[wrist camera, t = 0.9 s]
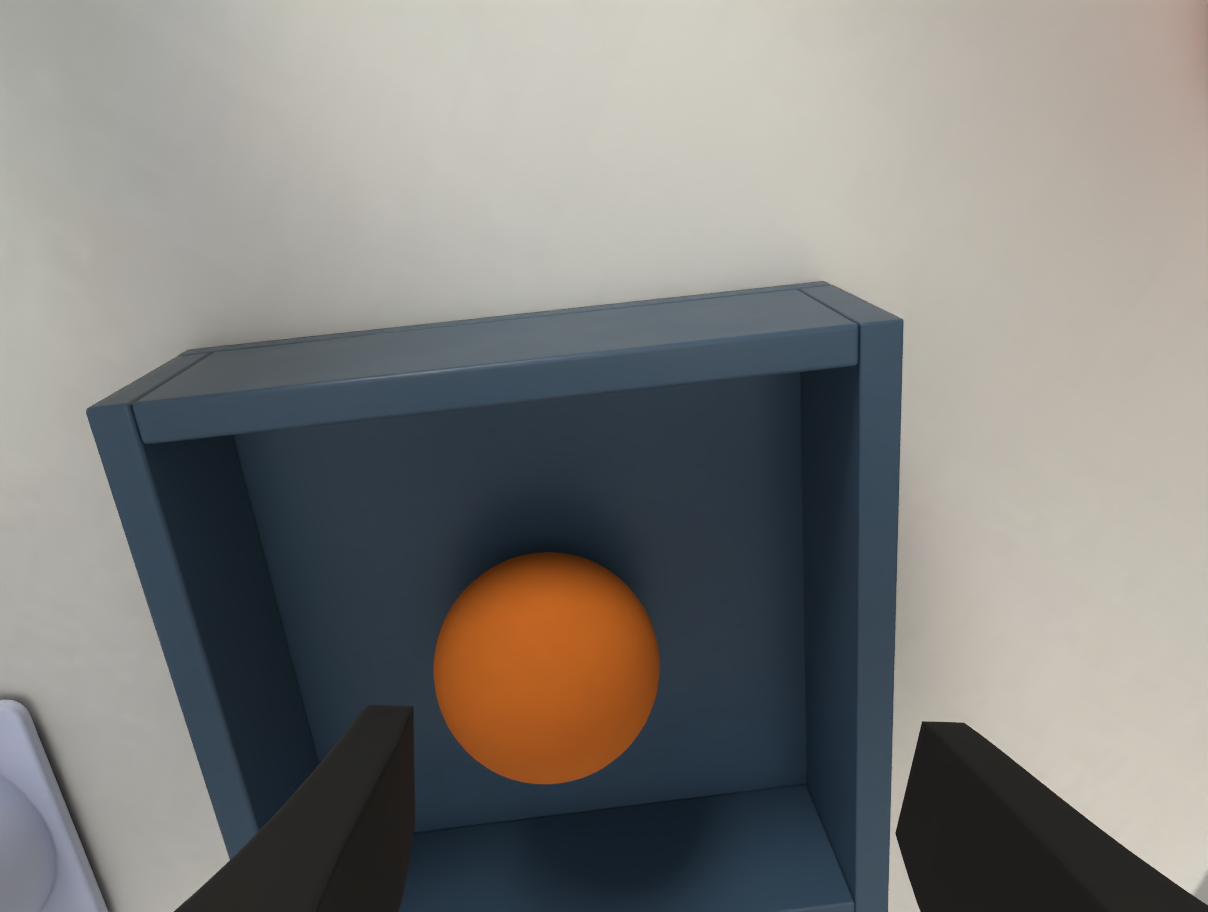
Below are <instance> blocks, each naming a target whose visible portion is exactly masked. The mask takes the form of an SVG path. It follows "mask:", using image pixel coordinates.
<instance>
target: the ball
mask: <svg viewBox="0 0 1208 912" xmlns="http://www.w3.org/2000/svg"><path fill="white" fill-rule="evenodd" d="M433 674H434V683H435V691H436V697H437V700H438V704H439V707H440V710H441V712H442V715H443V717H444V719H445V722H446V724H447V726H448V728H449V729H450V731H451V732H452V734H453V736H454V737H455V738H456V740H457V741H458V742H459V744H460V745H461V746H462V747H463V748H464V749H465V751H466V752H467V753H468V754H470V755H471V756H472V757H473V758H474V759H475V760H477V761H478V762H479V763H481V764H482V765H484V766H485V767H487V768H488V769H489V770H491V771H493V772H495V773H497V774H499V775H501V776H504V777H506V778H509V779H512V780H516V781H520V782H525V783H532V784H559V783H565V782H570V781H574V780H577V779H581V778H584V777H586V776H588V775H591V774H593V773H595V772H597V771H599V770H601V769H602V768H604V767H605V766H607V765H608V764H610V763H611V762H612V761H614V760H615V759H616V758H618V757H619V756H620V755H621V754H622V753H623V752H624V751H625V750H626V749H627V748H628V747H629V746H630V745H631V744H632V742H633V741H634V740H635V739H636V737H637V736H638V734H639V733H640V731H641V730H642V728H643V727H644V725H645V723H646V721H647V719H648V717H649V715H650V713H651V710H652V707H653V704H654V701H655V698H656V694H657V689H658V682H659V674H660V659H659V650H658V644H657V638H656V635H655V632H654V629H653V626H652V623H651V620H650V618H649V616H648V614H647V612H646V610H645V608H644V607H643V605H642V604H641V602H640V601H639V599H638V598H637V597H636V595H635V594H634V592H633V591H632V590H631V589H630V588H629V587H628V586H627V585H626V584H625V583H624V582H623V581H622V580H621V579H620V578H618V577H617V576H616V575H615V574H613V573H612V572H611V571H609V570H608V569H606V568H604V567H603V566H601V565H600V564H597V563H595V562H593V561H591V560H589V559H586V558H582V557H579V556H576V555H571V554H565V553H556V552H541V553H532V554H526V555H521V556H518V557H514V558H511V559H508V560H506V561H504V562H501V563H499V564H497V565H495V566H494V567H492V568H490V569H489V570H487V571H485V572H484V573H483V574H482V575H480V576H479V577H478V578H476V579H475V580H474V581H473V582H472V583H471V584H470V585H469V586H468V587H467V588H466V589H465V590H464V591H463V592H462V593H461V594H460V596H459V597H458V598H457V600H456V601H455V602H454V604H453V606H452V607H451V609H450V610H449V612H448V614H447V616H446V618H445V620H444V622H443V625H442V628H441V631H440V633H439V636H438V639H437V644H436V649H435V655H434V673H433Z"/></svg>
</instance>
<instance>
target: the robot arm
mask: <svg viewBox="0 0 1208 912" xmlns="http://www.w3.org/2000/svg"><path fill="white" fill-rule="evenodd" d="M414 827H415V775H414V709H413V706H389V705H368V706H367V707H366V708H365V709H363V710H362V711H361V712H360V713H359V715H358V716H357V717H356V719H355V720H354V721H353V723H352V724H351V725H350V727H349V728H348V729H347V730H346V732H345V733H344V734H343V736H342V737H341V738H340V739H339V741H338V742H337V743H336V744H335V746H334V747H333V748H332V749H331V750H330V752H329V753H328V754H327V755H326V757H325V758H324V759H323V760H322V761H321V763H320V764H319V765H318V766H317V767H316V769H315V770H314V771H313V772H312V773H311V774H310V776H309V777H308V778H307V779H306V780H305V781H304V782H303V783H302V785H301V786H300V787H299V788H298V789H297V790H296V791H295V792H294V794H293V795H292V796H291V797H290V798H289V799H288V800H287V801H286V803H285V804H284V805H283V806H282V807H281V808H280V809H279V810H278V812H277V813H276V814H275V815H274V816H273V817H272V818H271V819H270V820H269V821H268V822H267V823H266V824H265V825H264V826H263V827H262V828H261V829H260V830H259V831H258V832H257V833H256V834H255V835H254V836H253V837H252V838H251V839H250V840H249V841H248V842H247V843H246V844H245V845H244V847H243V848H242V849H241V850H240V851H239V852H238V853H237V854H236V855H235V856H234V857H233V858H232V859H231V860H230V861H229V862H228V863H227V864H226V865H225V866H224V867H222V868H221V869H220V870H219V871H218V872H217V873H216V874H215V875H214V876H213V877H212V878H211V879H210V880H209V881H208V882H207V883H205V884H204V885H203V886H202V887H201V888H200V889H199V890H198V891H197V892H196V893H194V894H193V895H192V896H191V897H190V898H189V899H188V900H187V901H185V902H184V903H183V904H182V905H181V906H180V907H179V908H177V909H176V910H175V911H174V912H399V908H400V905H401V901H402V897H403V892H404V887H405V881H406V875H407V869H408V864H409V858H410V852H411V846H412V840H413V833H414ZM896 837H897V840H898V843H899V847H900V850H901V854H902V857H903V860H904V864H905V867H906V870H907V873H908V876H909V879H910V882H911V885H912V888H913V891H914V894H915V897H916V900H917V903H918V906H919V908H920V911H921V912H1208V905H1206V904H1205V903H1203V902H1202V901H1200V900H1199V899H1197V898H1196V897H1194V896H1193V895H1191V894H1190V893H1188V892H1187V891H1185V890H1184V889H1182V888H1181V887H1180V886H1178V885H1177V884H1175V883H1174V882H1172V881H1171V880H1170V879H1168V878H1167V877H1165V876H1164V875H1163V874H1161V873H1160V872H1158V871H1157V870H1156V869H1154V868H1153V867H1151V866H1150V865H1149V864H1147V863H1146V862H1144V861H1143V860H1142V859H1140V858H1139V857H1137V856H1136V855H1135V854H1133V853H1132V852H1130V851H1129V850H1128V849H1126V848H1125V847H1124V846H1122V845H1121V844H1120V843H1118V842H1117V841H1116V840H1114V839H1113V838H1112V837H1110V836H1109V835H1108V834H1106V833H1105V832H1104V831H1102V830H1101V829H1100V828H1099V827H1097V826H1096V825H1095V824H1093V823H1092V822H1091V821H1089V820H1088V819H1087V818H1085V817H1084V816H1083V815H1082V814H1080V813H1079V812H1078V811H1077V810H1075V809H1074V808H1073V807H1071V806H1070V805H1069V804H1068V803H1066V802H1065V801H1064V800H1062V799H1061V798H1060V797H1059V796H1057V795H1056V794H1055V793H1054V792H1052V791H1051V790H1050V789H1049V788H1047V787H1046V786H1045V785H1044V784H1042V783H1041V782H1040V781H1039V780H1037V779H1036V778H1035V777H1034V776H1032V775H1031V774H1030V773H1029V772H1027V771H1026V770H1025V769H1024V768H1022V767H1021V766H1020V765H1019V764H1017V763H1016V762H1015V761H1014V760H1012V759H1011V758H1010V757H1009V756H1007V755H1006V754H1005V753H1003V752H1002V751H1001V750H1000V749H998V748H997V747H996V746H995V745H993V744H992V743H991V742H989V741H988V740H987V739H986V738H984V737H983V736H982V735H980V734H979V733H978V732H976V731H975V730H973V729H972V728H971V727H969V726H968V725H966V724H965V723H956V722H923V721H922V725H921V729H920V733H919V737H918V741H917V746H916V750H915V754H914V758H913V762H912V767H911V771H910V775H909V779H908V783H907V787H906V792H905V796H904V800H903V804H902V808H901V813H900V817H899V821H898V825H897V829H896ZM0 912H108V910H107V907H106V904H105V902H104V899H103V897H102V894H101V892H100V889H99V887H98V884H97V882H96V879H95V877H94V874H93V872H92V869H91V867H90V864H89V862H88V859H87V857H86V854H85V852H84V849H83V847H82V844H81V842H80V839H79V836H78V834H77V831H76V829H75V826H74V824H73V821H72V819H71V816H70V814H69V811H68V809H67V806H66V804H65V801H64V799H63V796H62V794H61V791H60V789H59V786H58V784H57V781H56V779H55V776H54V774H53V771H52V769H51V766H50V763H49V761H48V758H47V756H46V753H45V751H44V748H43V746H42V743H41V741H40V738H39V736H38V733H37V731H36V728H35V726H34V723H33V721H32V718H31V716H30V713H29V712H28V710H27V709H26V707H24V706H23V705H22V704H20V703H19V702H16V701H13V700H0Z"/></svg>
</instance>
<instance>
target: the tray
mask: <svg viewBox="0 0 1208 912" xmlns="http://www.w3.org/2000/svg"><path fill="white" fill-rule="evenodd" d="M902 354H903V319H901V318H899V317H897V316H895V315H893V314H891V313H889V312H887V311H885V310H883V309H881V308H879V307H877V306H875V305H873V304H870V303H868V302H866V301H864V300H862V299H860V298H858V297H856V296H854V295H852V294H850V293H848V292H846V291H844V290H842V289H840V288H838V287H836V286H833V285H831V284H829V283H827V282H824V281H822V282H812V283H803V284H794V285H785V286H775V287H766V288H757V289H748V290H738V291H729V292H720V293H711V294H701V295H692V296H683V297H673V298H664V299H655V300H646V301H636V302H627V303H618V304H609V305H599V306H590V307H581V308H572V309H562V310H553V311H544V312H535V313H525V314H516V315H507V316H497V317H488V318H479V319H470V320H460V321H451V322H442V323H433V324H423V325H414V326H405V327H396V328H386V329H377V330H368V331H358V332H349V333H340V334H331V335H321V336H312V337H303V338H294V339H284V340H275V341H266V342H257V343H247V344H238V345H229V346H219V347H210V348H201V349H192V350H187V351H185V352H184V353H182V354H180V355H178V356H177V357H176V358H174V359H172V360H170V361H169V362H167V363H165V364H163V365H162V366H160V367H158V368H156V369H155V370H153V371H151V372H150V373H148V374H146V375H144V376H143V377H141V378H139V379H137V380H136V381H134V382H132V383H131V384H129V385H127V386H125V387H124V388H122V389H120V390H118V391H117V392H115V393H113V394H111V395H110V396H108V397H106V398H105V399H103V400H101V401H99V402H98V403H96V404H94V405H92V406H91V407H89V408H87V410H86V414H87V417H88V420H89V423H90V426H91V429H92V432H93V436H94V439H95V442H96V445H97V448H98V451H99V454H100V457H101V460H102V463H103V467H104V470H105V473H106V476H107V479H108V482H109V485H110V488H111V491H112V495H113V498H114V501H115V504H116V507H117V510H118V513H119V516H120V519H121V523H122V526H123V529H124V532H125V535H126V538H127V541H128V544H129V547H130V550H131V554H132V557H133V560H134V563H135V566H136V569H137V572H138V575H139V578H140V582H141V585H142V588H143V591H144V594H145V597H146V600H147V603H148V606H149V609H150V613H151V616H152V619H153V622H154V625H155V628H156V631H157V634H158V637H159V641H160V644H161V647H162V650H163V653H164V656H165V659H166V662H167V665H168V668H169V672H170V675H171V678H172V681H173V684H174V687H175V690H176V693H177V696H178V700H179V703H180V706H181V709H182V712H183V715H184V718H185V721H186V724H187V728H188V731H189V734H190V737H191V740H192V743H193V746H194V749H195V752H196V755H197V759H198V762H199V765H200V768H201V771H202V774H203V777H204V780H205V783H206V787H207V790H208V793H209V796H210V799H211V802H212V805H213V808H214V811H215V814H216V818H217V821H218V824H219V827H220V830H221V833H222V836H223V839H224V842H225V846H226V849H227V852H228V855H229V858H230V860H231V859H232V858H233V857H234V856H235V855H236V854H237V853H238V852H239V851H240V850H241V849H242V848H243V847H244V845H245V844H246V843H247V842H248V841H249V840H250V839H251V838H252V837H253V836H254V835H255V834H256V833H257V832H258V831H259V830H260V829H261V828H262V827H263V826H264V825H265V824H266V823H267V822H268V821H269V820H270V819H271V818H272V817H273V816H274V815H275V814H276V813H277V812H278V810H279V809H280V808H281V807H282V806H283V805H284V804H285V803H286V801H287V800H288V799H289V798H290V797H291V796H292V795H293V794H294V792H295V791H296V790H297V789H298V788H299V787H300V786H301V785H302V783H303V782H304V781H305V780H306V779H307V778H308V777H309V776H310V774H311V773H312V772H313V771H314V770H315V769H316V767H317V766H318V765H319V764H320V763H321V761H322V760H323V759H324V758H325V757H326V755H327V754H328V753H329V752H330V750H331V749H332V748H333V747H334V746H335V744H336V743H337V742H338V741H339V739H340V738H341V737H342V736H343V734H344V733H345V732H346V730H347V729H348V728H349V727H350V725H351V724H352V723H353V721H354V720H355V719H356V717H357V716H358V715H359V713H360V712H361V711H362V710H363V709H365V708H366V707H367V706H368V705H389V706H413V709H414V775H415V827H414V833H413V840H412V846H411V852H410V858H409V864H408V869H407V875H406V881H405V887H404V892H403V897H402V901H401V905H400V908H399V912H888V884H889V846H890V808H891V770H892V732H893V694H894V657H895V619H896V581H897V543H898V505H899V467H900V430H901V392H902ZM541 552H556V553H565V554H571V555H576V556H579V557H582V558H586V559H589V560H591V561H593V562H595V563H597V564H600V565H601V566H603V567H604V568H606V569H608V570H609V571H611V572H612V573H613V574H615V575H616V576H617V577H618V578H620V579H621V580H622V581H623V582H624V583H625V584H626V585H627V586H628V587H629V588H630V589H631V590H632V591H633V592H634V594H635V595H636V597H637V598H638V599H639V601H640V602H641V604H642V605H643V607H644V608H645V610H646V612H647V614H648V616H649V618H650V620H651V623H652V626H653V629H654V632H655V635H656V638H657V644H658V650H659V659H660V674H659V682H658V689H657V694H656V698H655V701H654V704H653V707H652V710H651V713H650V715H649V717H648V719H647V721H646V723H645V725H644V727H643V728H642V730H641V731H640V733H639V734H638V736H637V737H636V739H635V740H634V741H633V742H632V744H631V745H630V746H629V747H628V748H627V749H626V750H625V751H624V752H623V753H622V754H621V755H620V756H619V757H618V758H616V759H615V760H614V761H612V762H611V763H610V764H608V765H607V766H605V767H604V768H602V769H601V770H599V771H597V772H595V773H593V774H591V775H588V776H586V777H584V778H581V779H577V780H574V781H570V782H565V783H559V784H532V783H525V782H520V781H516V780H512V779H509V778H506V777H504V776H501V775H499V774H497V773H495V772H493V771H491V770H489V769H488V768H487V767H485V766H484V765H482V764H481V763H479V762H478V761H477V760H475V759H474V758H473V757H472V756H471V755H470V754H468V753H467V752H466V751H465V749H464V748H463V747H462V746H461V745H460V744H459V742H458V741H457V740H456V738H455V737H454V736H453V734H452V732H451V731H450V729H449V728H448V726H447V724H446V722H445V719H444V717H443V715H442V712H441V710H440V707H439V704H438V700H437V697H436V691H435V683H434V674H433V673H434V655H435V649H436V644H437V639H438V636H439V633H440V631H441V628H442V625H443V622H444V620H445V618H446V616H447V614H448V612H449V610H450V609H451V607H452V606H453V604H454V602H455V601H456V600H457V598H458V597H459V596H460V594H461V593H462V592H463V591H464V590H465V589H466V588H467V587H468V586H469V585H470V584H471V583H472V582H473V581H474V580H475V579H476V578H478V577H479V576H480V575H482V574H483V573H484V572H485V571H487V570H489V569H490V568H492V567H494V566H495V565H497V564H499V563H501V562H504V561H506V560H508V559H511V558H514V557H518V556H521V555H526V554H532V553H541Z"/></svg>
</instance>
